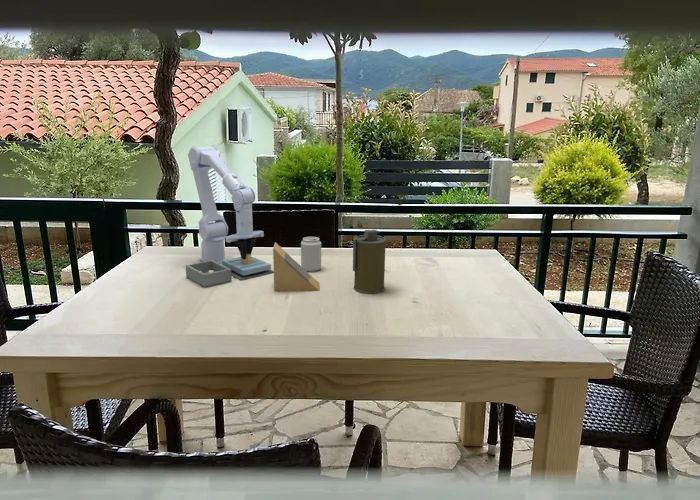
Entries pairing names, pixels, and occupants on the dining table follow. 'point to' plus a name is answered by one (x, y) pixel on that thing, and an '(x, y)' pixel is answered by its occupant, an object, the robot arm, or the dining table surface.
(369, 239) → the canister
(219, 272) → the parts tub
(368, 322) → the dining table surface
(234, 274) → the mat
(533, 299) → the dining table surface
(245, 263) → the lid
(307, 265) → the can
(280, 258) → the sandwich container
